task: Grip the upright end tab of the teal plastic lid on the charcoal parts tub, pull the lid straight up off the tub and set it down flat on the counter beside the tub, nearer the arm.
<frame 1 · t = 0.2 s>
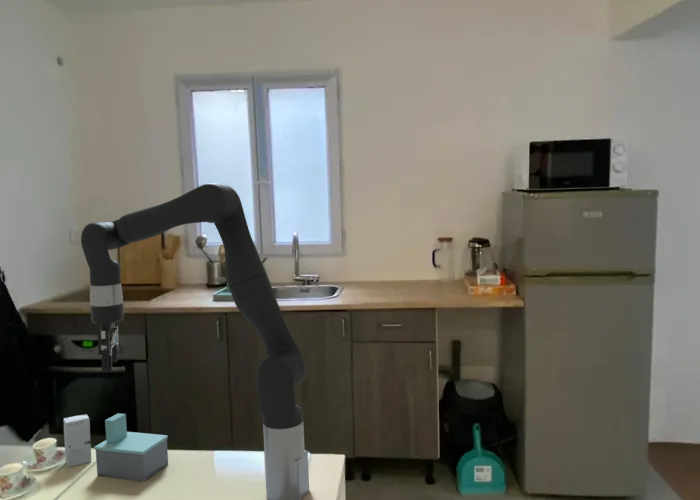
hand: (110, 366, 145), 28 cm above the table, fingers open, 8 cm apart
tub lid: (131, 443, 149), point 7 cm above the table, touching parts tub
skincare box: (79, 462, 156), on the table
parts tub: (133, 469, 150), on the table
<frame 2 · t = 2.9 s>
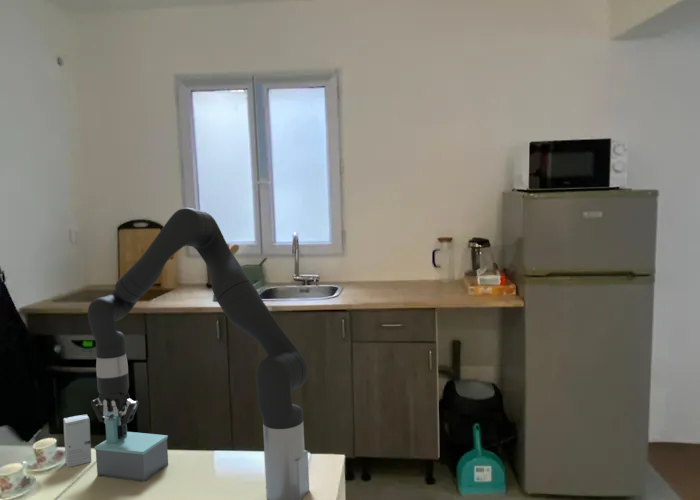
hand: (116, 437, 151), 8 cm above the table, fingers closed on tub lid, 2 cm apart
tub lid: (131, 443, 149), point 7 cm above the table, touching gripper
everything else where it was.
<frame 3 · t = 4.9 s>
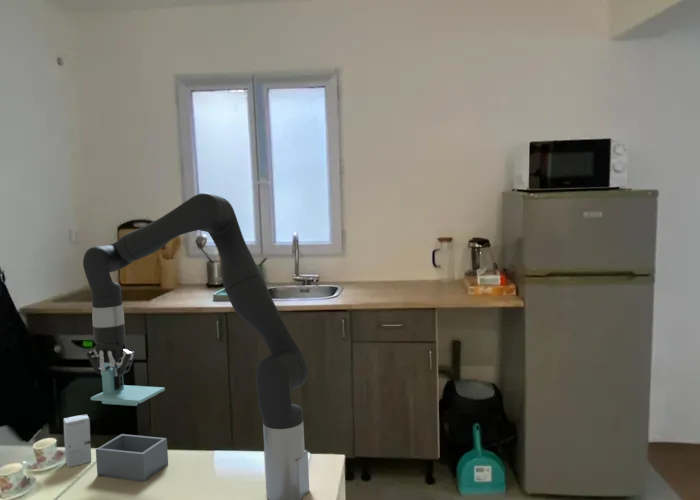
hand: (113, 389, 150), 21 cm above the table, fingers closed on tub lid, 2 cm apart
tub lid: (128, 395, 148), point 20 cm above the table, touching gripper
everything else where it was.
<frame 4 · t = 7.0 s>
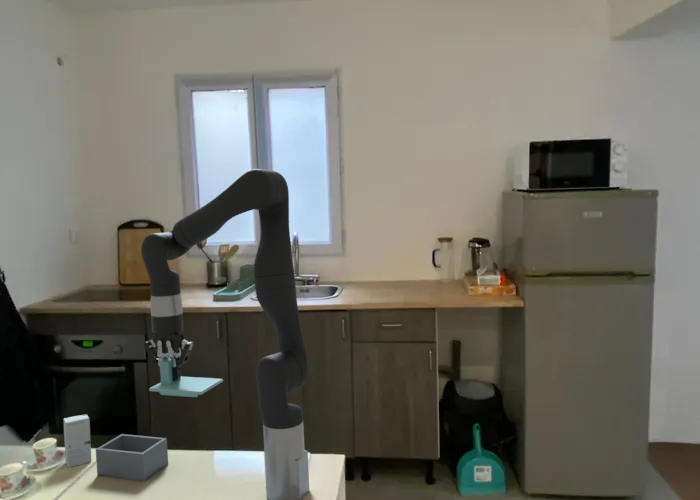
hand: (170, 380, 146), 24 cm above the table, fingers closed on tub lid, 2 cm apart
tub lid: (186, 386, 144), point 23 cm above the table, touching gripper
everything else where it was.
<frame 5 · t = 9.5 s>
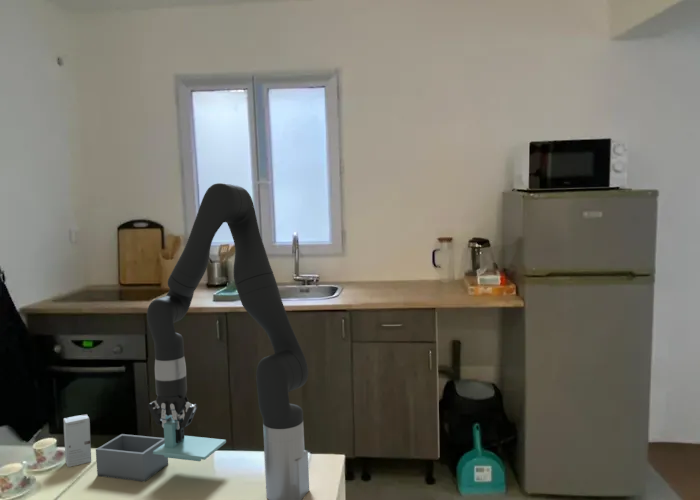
hand: (174, 441, 147), 8 cm above the table, fingers closed on tub lid, 2 cm apart
tub lid: (190, 448, 146), point 7 cm above the table, touching gripper
everything else where it was.
when the fingers open (3 cm above the table, at t = 11.3 s): tub lid stays where it is, point 1 cm above the table.
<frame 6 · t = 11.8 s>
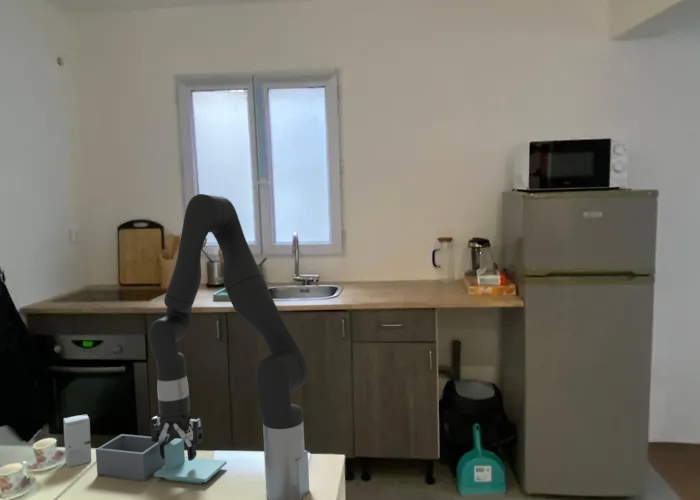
hand: (178, 458, 147), 4 cm above the table, fingers open, 7 cm apart
tub lid: (191, 469, 146), point 1 cm above the table
everything else where it was.
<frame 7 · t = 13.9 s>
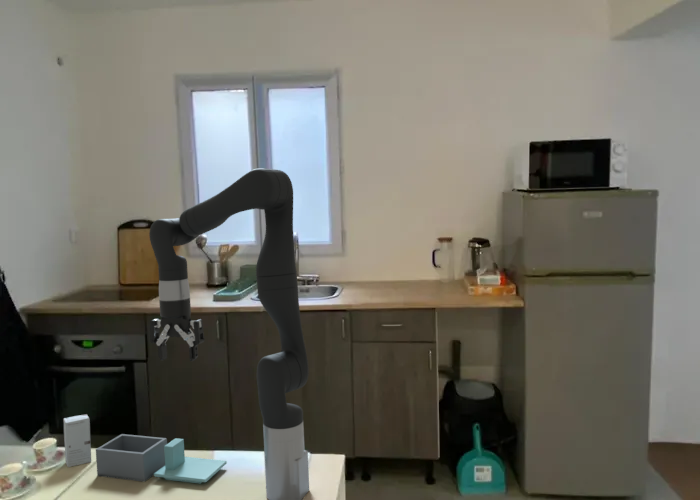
hand: (178, 359, 148), 28 cm above the table, fingers open, 8 cm apart
nothing on the table moved.
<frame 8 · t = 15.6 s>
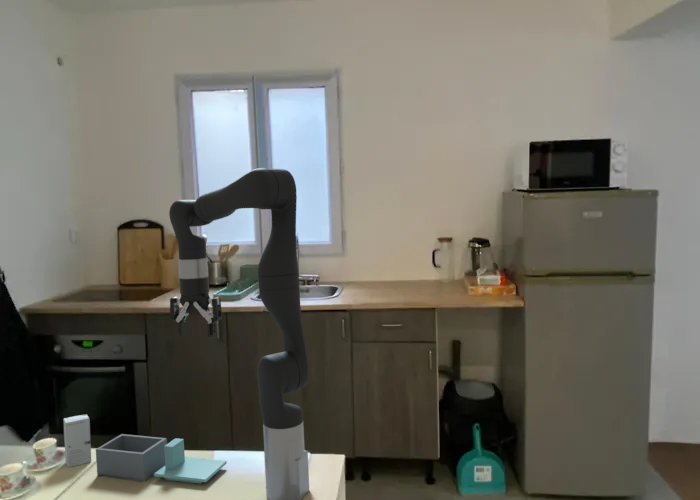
hand: (197, 336, 154), 33 cm above the table, fingers open, 8 cm apart
nothing on the table moved.
at the end: tub lid inside the target area (0.4 cm from its centre), point 1.2 cm above the table; tub lid tilted 0°; the gripper is holding nothing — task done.
